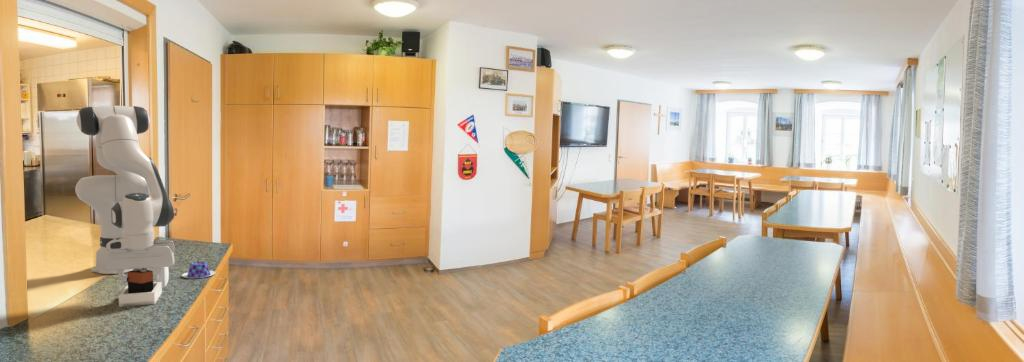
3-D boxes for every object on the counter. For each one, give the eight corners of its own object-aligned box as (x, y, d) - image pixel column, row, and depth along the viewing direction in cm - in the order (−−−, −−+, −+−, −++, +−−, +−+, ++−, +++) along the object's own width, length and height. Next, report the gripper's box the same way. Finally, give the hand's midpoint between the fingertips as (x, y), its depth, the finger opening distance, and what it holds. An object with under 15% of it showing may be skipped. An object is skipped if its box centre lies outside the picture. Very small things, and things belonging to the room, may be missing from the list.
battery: (142, 300, 184) (141, 271, 183) (127, 297, 186) (126, 269, 185) (154, 296, 188) (153, 268, 187) (139, 294, 190) (138, 266, 189)
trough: (128, 295, 192) (128, 284, 191) (161, 292, 196) (161, 281, 195) (119, 307, 180) (118, 295, 179) (154, 303, 184) (154, 292, 183)
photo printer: (165, 287, 201) (164, 255, 200) (152, 289, 200) (151, 256, 198) (169, 280, 211) (169, 249, 210) (156, 281, 209) (155, 249, 208)
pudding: (182, 281, 211) (181, 268, 210) (180, 274, 221) (180, 261, 220) (217, 277, 218) (216, 264, 217) (214, 270, 228) (214, 258, 227)
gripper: (175, 237, 193) (177, 276, 194) (105, 241, 184) (107, 280, 186) (173, 241, 187) (174, 280, 188) (100, 244, 179) (102, 286, 180)
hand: (140, 280), depth 187 cm, fingers closed on battery, 7 cm apart
